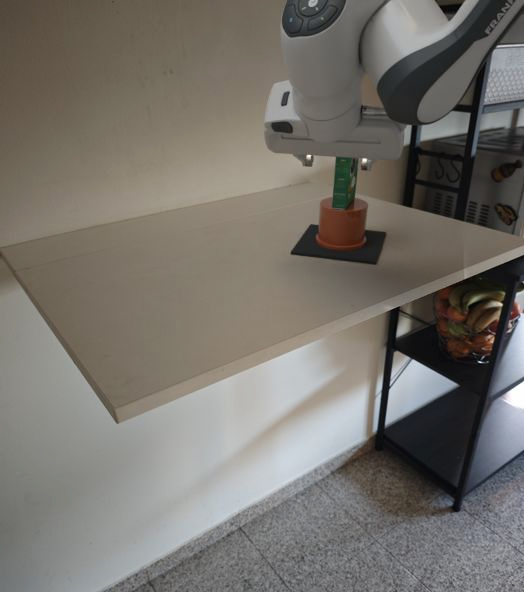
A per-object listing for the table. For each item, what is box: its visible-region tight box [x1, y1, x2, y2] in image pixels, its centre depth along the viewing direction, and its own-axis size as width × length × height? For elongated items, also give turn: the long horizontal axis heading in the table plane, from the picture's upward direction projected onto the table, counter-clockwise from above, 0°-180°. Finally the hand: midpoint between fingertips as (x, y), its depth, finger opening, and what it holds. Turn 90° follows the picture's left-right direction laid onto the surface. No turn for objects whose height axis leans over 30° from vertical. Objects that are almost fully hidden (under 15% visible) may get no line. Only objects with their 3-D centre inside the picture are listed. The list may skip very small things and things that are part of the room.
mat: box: [290, 223, 387, 265], centre depth 98 cm, size 16×16×1 cm
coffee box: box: [332, 157, 360, 210], centre depth 90 cm, size 8×3×13 cm, turn 160°
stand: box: [316, 196, 369, 251], centre depth 96 cm, size 10×10×8 cm
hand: (337, 164), depth 80 cm, fingers open, 8 cm apart
